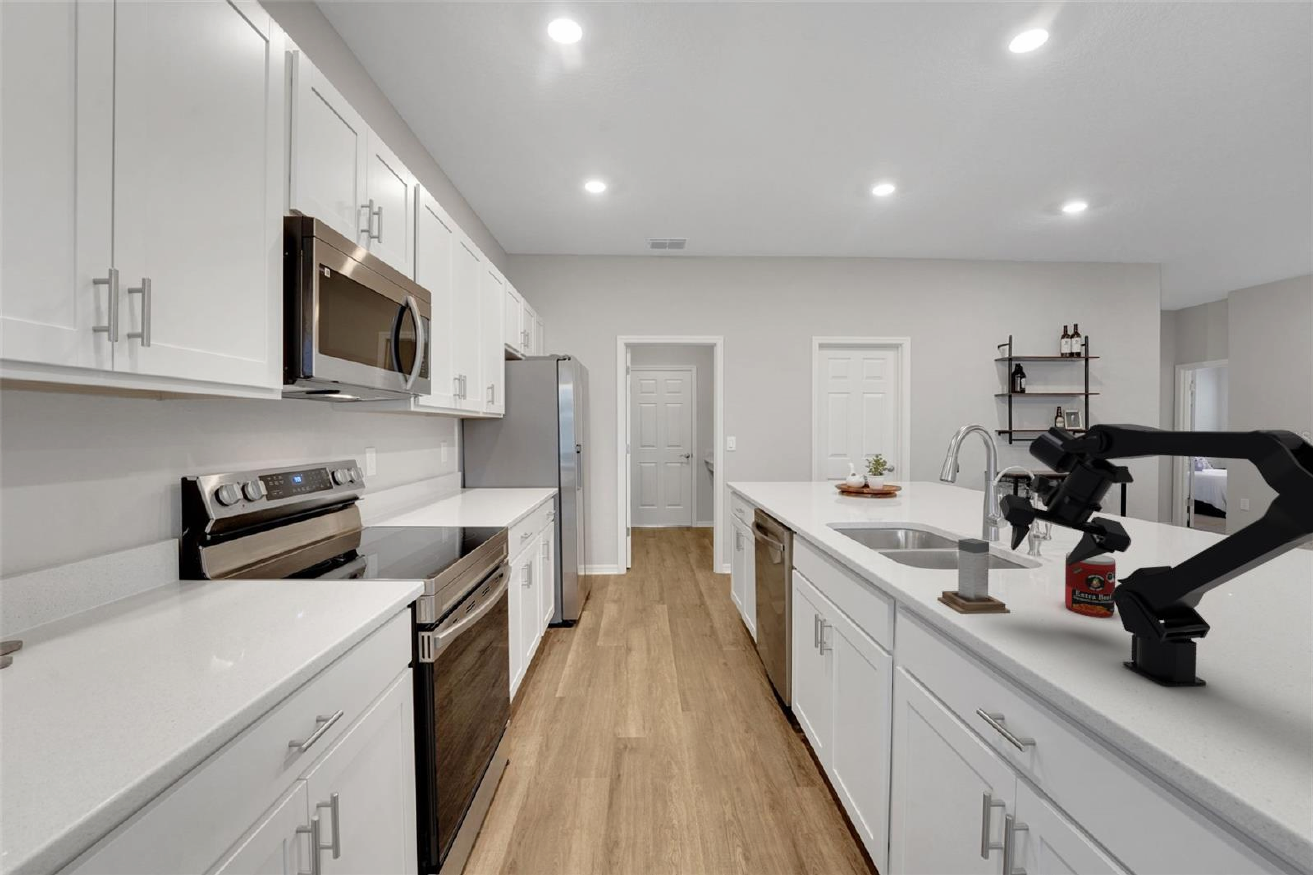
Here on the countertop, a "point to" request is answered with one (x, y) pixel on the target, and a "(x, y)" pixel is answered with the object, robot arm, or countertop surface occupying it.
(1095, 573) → the canned food
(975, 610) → the brown square tray
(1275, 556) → the robot arm
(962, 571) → the grey dark-topped prism
